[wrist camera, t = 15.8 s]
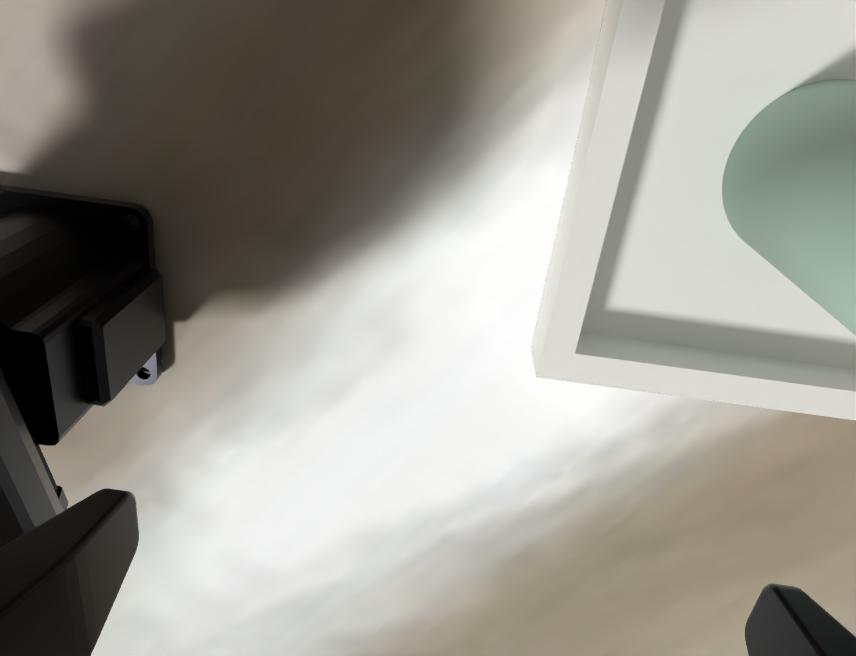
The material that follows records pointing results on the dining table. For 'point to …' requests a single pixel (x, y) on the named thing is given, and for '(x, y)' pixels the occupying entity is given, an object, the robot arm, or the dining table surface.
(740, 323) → the tray
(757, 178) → the grey-green post
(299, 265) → the dining table surface
